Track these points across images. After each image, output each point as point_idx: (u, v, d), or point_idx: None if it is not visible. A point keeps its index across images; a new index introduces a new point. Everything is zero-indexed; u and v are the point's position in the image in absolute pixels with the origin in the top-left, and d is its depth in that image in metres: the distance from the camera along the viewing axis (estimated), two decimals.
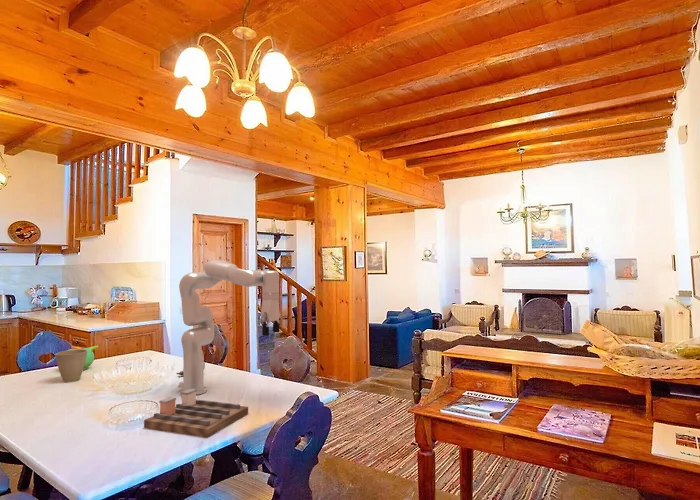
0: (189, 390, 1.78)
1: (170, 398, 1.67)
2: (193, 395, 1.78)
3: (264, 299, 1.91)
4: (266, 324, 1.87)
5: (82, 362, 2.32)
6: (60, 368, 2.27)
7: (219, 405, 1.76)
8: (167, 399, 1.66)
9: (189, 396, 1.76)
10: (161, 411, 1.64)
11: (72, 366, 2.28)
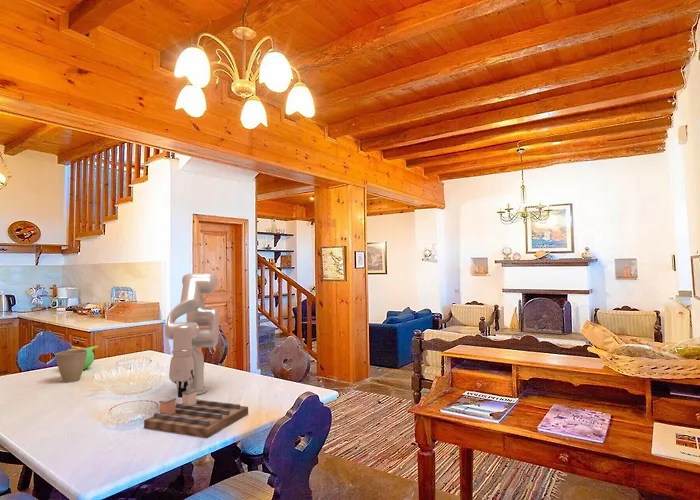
0: (190, 390, 1.78)
1: (170, 398, 1.67)
2: (194, 395, 1.78)
3: (186, 356, 1.77)
4: (187, 385, 1.79)
5: (82, 361, 2.32)
6: (60, 368, 2.27)
7: (219, 405, 1.76)
8: (167, 399, 1.66)
9: (190, 396, 1.76)
10: (161, 411, 1.64)
11: (72, 366, 2.28)
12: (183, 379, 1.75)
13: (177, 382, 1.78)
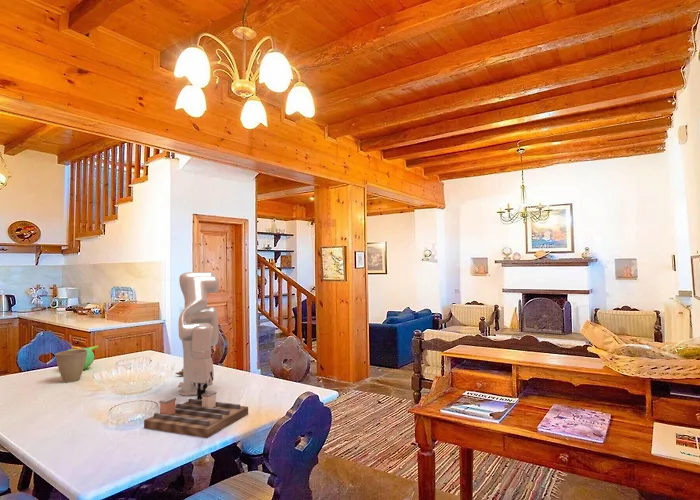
0: (209, 392, 1.75)
1: (170, 398, 1.67)
2: (213, 397, 1.74)
3: (205, 358, 1.73)
4: None
5: (82, 362, 2.32)
6: (60, 368, 2.27)
7: (219, 405, 1.76)
8: (167, 399, 1.66)
9: (209, 398, 1.72)
10: (161, 411, 1.64)
11: (72, 366, 2.28)
12: (203, 381, 1.72)
13: (196, 384, 1.75)
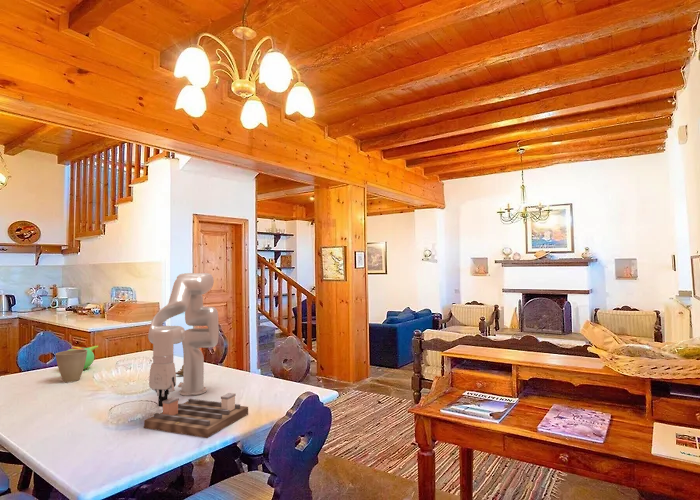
0: (228, 394, 1.71)
1: (173, 398, 1.67)
2: (232, 400, 1.71)
3: (167, 363, 1.65)
4: None
5: (82, 361, 2.32)
6: (60, 368, 2.27)
7: (219, 405, 1.76)
8: (170, 399, 1.65)
9: (229, 401, 1.69)
10: (164, 411, 1.64)
11: (72, 366, 2.28)
12: (163, 387, 1.64)
13: (157, 390, 1.66)
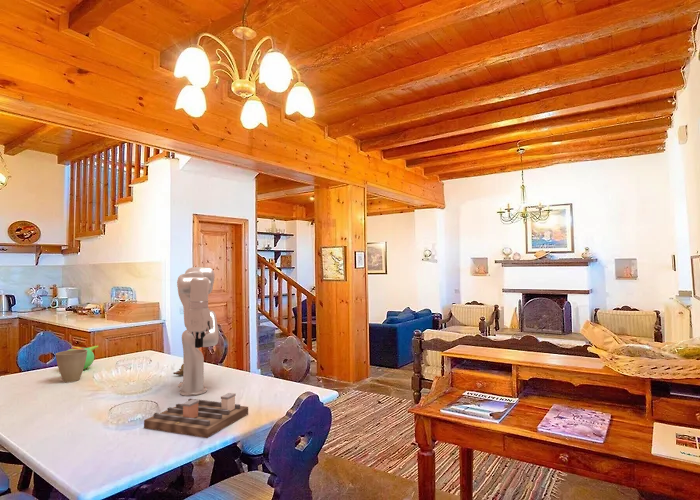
0: (228, 394, 1.71)
1: (193, 401, 1.63)
2: (232, 400, 1.71)
3: (203, 308, 1.81)
4: (203, 336, 1.83)
5: (82, 362, 2.32)
6: (60, 368, 2.27)
7: (219, 405, 1.76)
8: (190, 402, 1.62)
9: (229, 401, 1.69)
10: (184, 414, 1.60)
11: (72, 366, 2.28)
12: (200, 329, 1.79)
13: (194, 333, 1.82)
